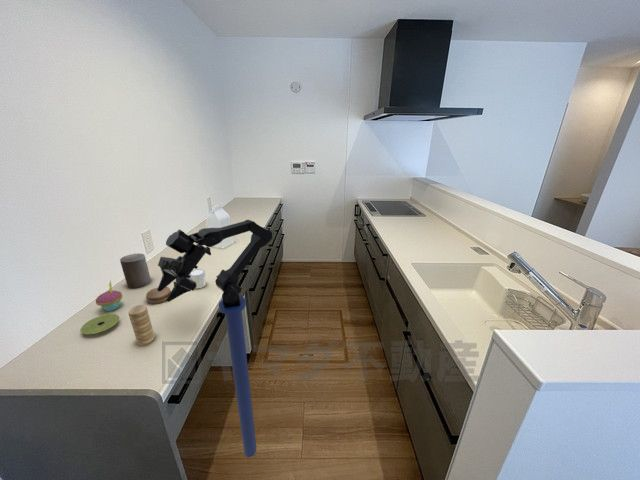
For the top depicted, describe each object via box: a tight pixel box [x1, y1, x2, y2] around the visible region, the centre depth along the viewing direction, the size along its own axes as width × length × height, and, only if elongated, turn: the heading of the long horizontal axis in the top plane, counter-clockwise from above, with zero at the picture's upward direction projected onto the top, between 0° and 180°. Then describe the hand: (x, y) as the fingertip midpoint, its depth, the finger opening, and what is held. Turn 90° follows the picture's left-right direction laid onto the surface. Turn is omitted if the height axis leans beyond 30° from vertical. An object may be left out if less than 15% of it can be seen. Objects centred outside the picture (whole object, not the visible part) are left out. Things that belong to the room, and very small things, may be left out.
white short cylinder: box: [190, 268, 207, 289], centre depth 124 cm, size 7×7×7 cm
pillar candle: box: [119, 252, 152, 289], centre depth 124 cm, size 10×10×15 cm
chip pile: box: [145, 286, 172, 305], centre depth 114 cm, size 10×10×3 cm
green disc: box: [80, 313, 120, 335], centre depth 97 cm, size 11×11×2 cm
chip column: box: [127, 304, 156, 346], centre depth 89 cm, size 5×5×13 cm
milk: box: [205, 204, 235, 250], centre depth 169 cm, size 12×12×26 cm
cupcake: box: [95, 280, 123, 312], centre depth 106 cm, size 9×8×12 cm
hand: (162, 296), depth 92 cm, fingers open, 9 cm apart
